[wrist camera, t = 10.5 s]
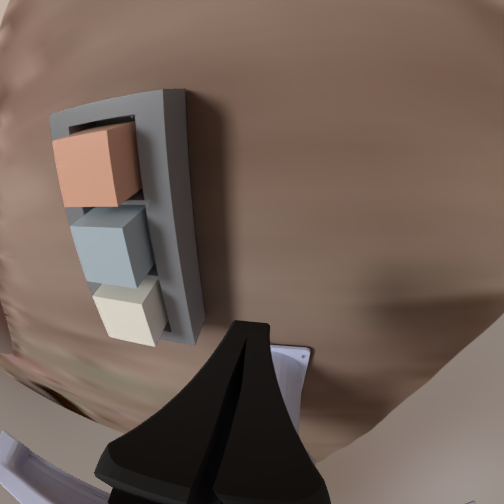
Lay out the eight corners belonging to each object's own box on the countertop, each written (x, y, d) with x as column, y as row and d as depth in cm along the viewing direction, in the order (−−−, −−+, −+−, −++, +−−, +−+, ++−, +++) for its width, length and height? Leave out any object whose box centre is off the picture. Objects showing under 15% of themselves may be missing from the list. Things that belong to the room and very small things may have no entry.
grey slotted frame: (205, 317, 25) (195, 345, 23) (121, 304, 27) (105, 328, 24) (184, 88, 16) (162, 89, 13) (79, 107, 17) (49, 114, 14)
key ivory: (171, 314, 23) (155, 346, 20) (128, 307, 24) (109, 336, 21) (162, 272, 21) (141, 304, 18) (115, 267, 22) (92, 295, 18)
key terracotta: (147, 184, 18) (117, 206, 14) (97, 186, 18) (64, 207, 15) (140, 120, 15) (106, 130, 12) (88, 128, 16) (52, 140, 13)
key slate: (159, 257, 20) (137, 288, 17) (112, 253, 21) (87, 281, 18) (149, 203, 18) (122, 228, 15) (100, 203, 19) (69, 226, 16)
